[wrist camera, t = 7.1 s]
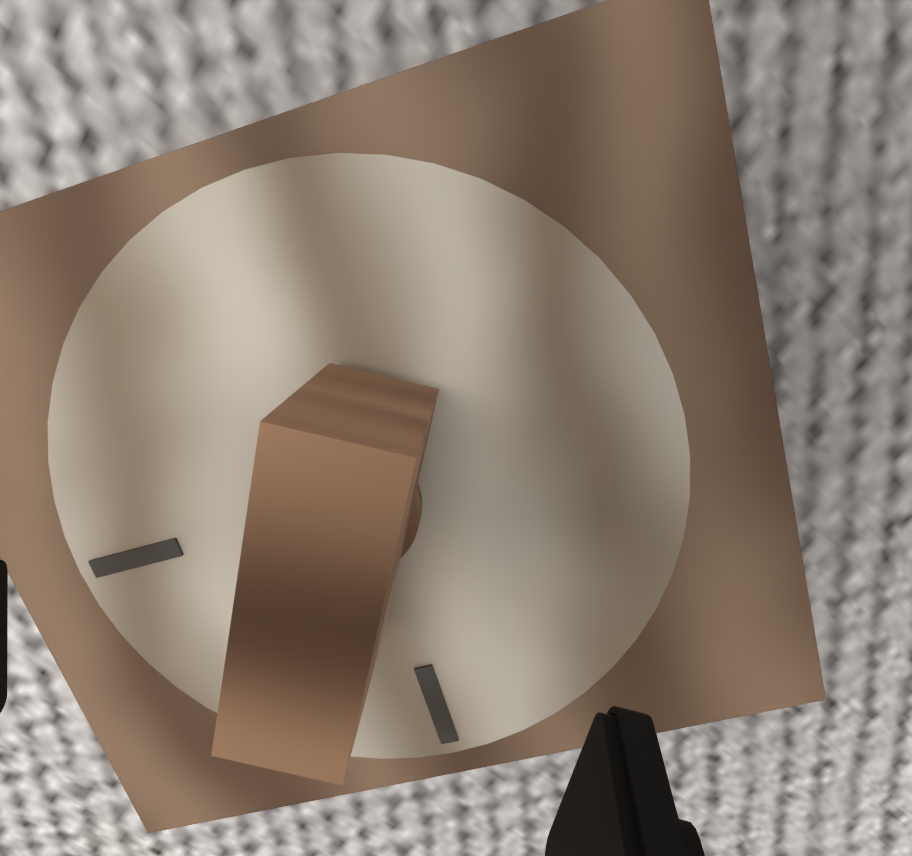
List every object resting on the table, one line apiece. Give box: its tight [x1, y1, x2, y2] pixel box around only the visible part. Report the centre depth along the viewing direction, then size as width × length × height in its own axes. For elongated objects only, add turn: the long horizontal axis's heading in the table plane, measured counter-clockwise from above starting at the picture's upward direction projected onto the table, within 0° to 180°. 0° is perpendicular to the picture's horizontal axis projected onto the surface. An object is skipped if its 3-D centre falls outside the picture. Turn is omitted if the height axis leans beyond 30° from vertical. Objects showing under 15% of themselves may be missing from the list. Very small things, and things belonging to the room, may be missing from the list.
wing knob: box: [211, 363, 439, 786], centre depth 17 cm, size 12×4×6 cm, turn 167°
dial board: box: [0, 0, 826, 833], centre depth 20 cm, size 24×21×2 cm
